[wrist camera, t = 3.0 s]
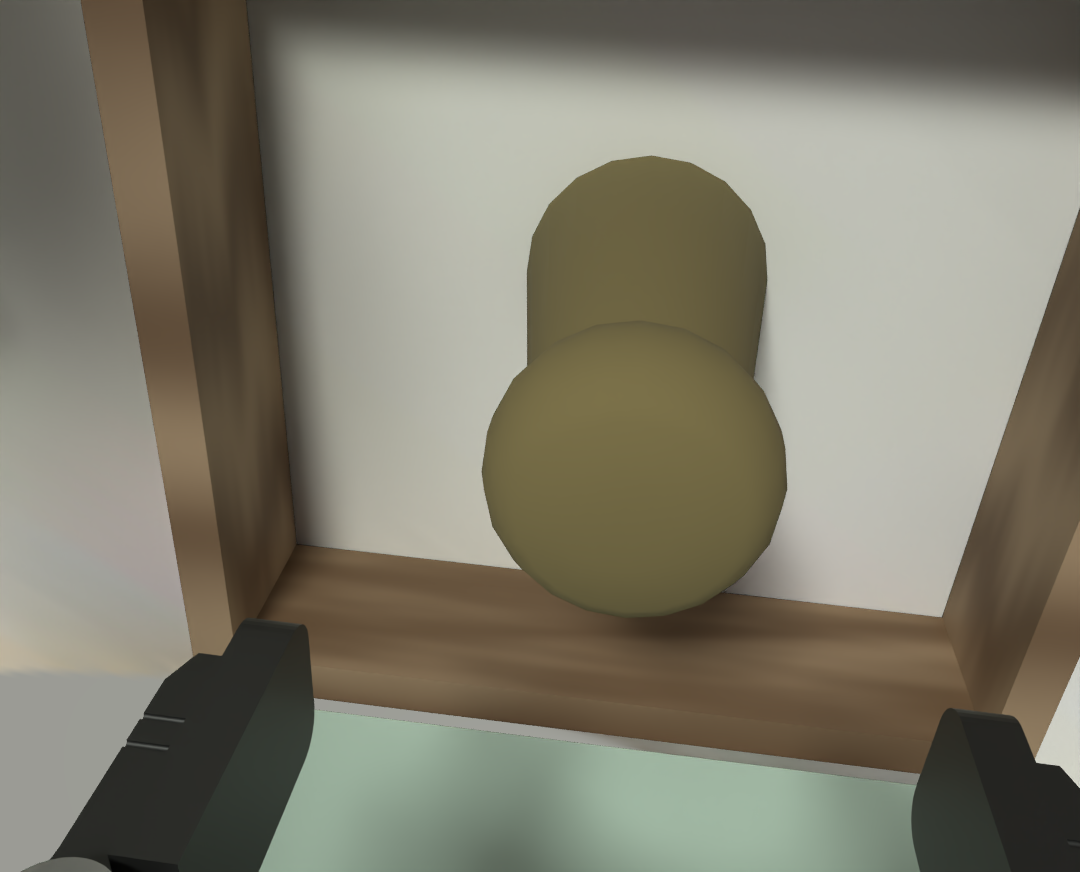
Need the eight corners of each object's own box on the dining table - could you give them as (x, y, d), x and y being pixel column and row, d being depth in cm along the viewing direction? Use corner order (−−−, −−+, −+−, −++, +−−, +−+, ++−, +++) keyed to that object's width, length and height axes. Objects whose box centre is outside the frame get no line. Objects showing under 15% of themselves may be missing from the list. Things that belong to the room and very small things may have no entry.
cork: (479, 245, 25) (363, 480, 16) (683, 104, 23) (689, 281, 14) (613, 419, 27) (582, 718, 18) (812, 307, 25) (896, 582, 16)
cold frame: (163, -280, 20) (26, -315, 16) (1292, -222, 19) (1477, -243, 14) (262, 570, 32) (198, 683, 27) (972, 652, 30) (1022, 786, 26)
